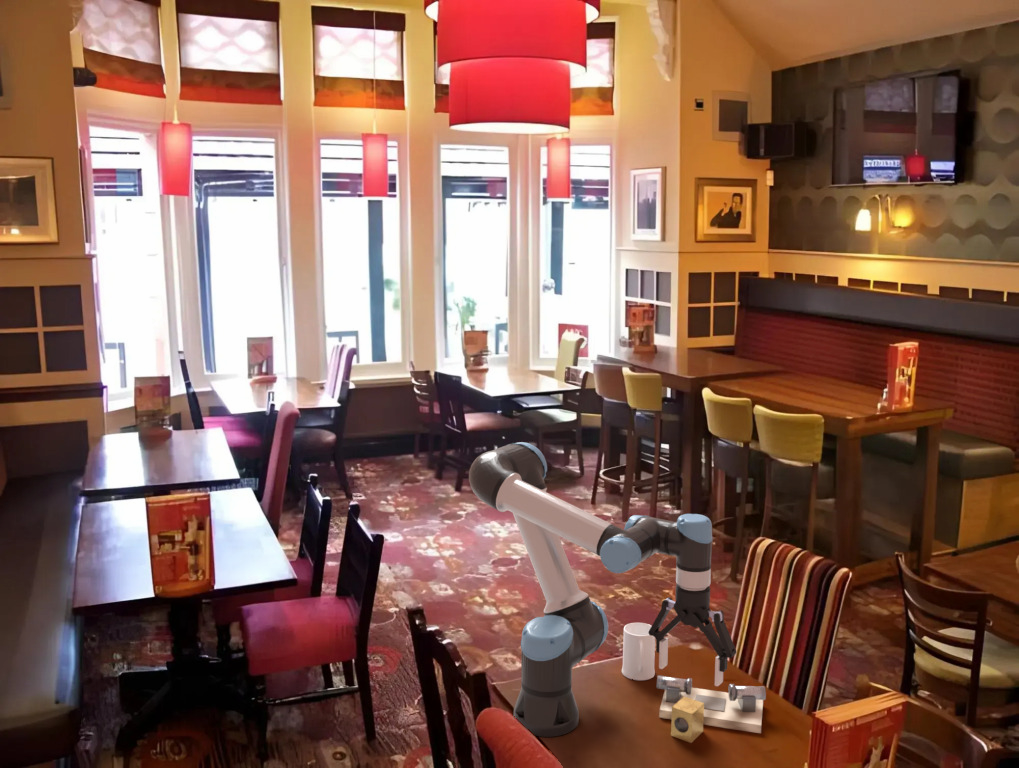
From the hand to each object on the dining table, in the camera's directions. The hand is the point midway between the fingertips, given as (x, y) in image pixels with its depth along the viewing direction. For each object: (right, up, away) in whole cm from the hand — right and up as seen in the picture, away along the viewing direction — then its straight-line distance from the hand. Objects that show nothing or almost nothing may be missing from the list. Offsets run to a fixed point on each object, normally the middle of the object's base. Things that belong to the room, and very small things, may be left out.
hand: (690, 675), depth 207 cm
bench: (+7, -12, +12) cm, 19 cm away
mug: (-8, -10, +29) cm, 32 cm away
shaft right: (+15, -11, +10) cm, 21 cm away
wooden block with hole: (0, -14, +2) cm, 14 cm away
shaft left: (-1, -10, +14) cm, 17 cm away
